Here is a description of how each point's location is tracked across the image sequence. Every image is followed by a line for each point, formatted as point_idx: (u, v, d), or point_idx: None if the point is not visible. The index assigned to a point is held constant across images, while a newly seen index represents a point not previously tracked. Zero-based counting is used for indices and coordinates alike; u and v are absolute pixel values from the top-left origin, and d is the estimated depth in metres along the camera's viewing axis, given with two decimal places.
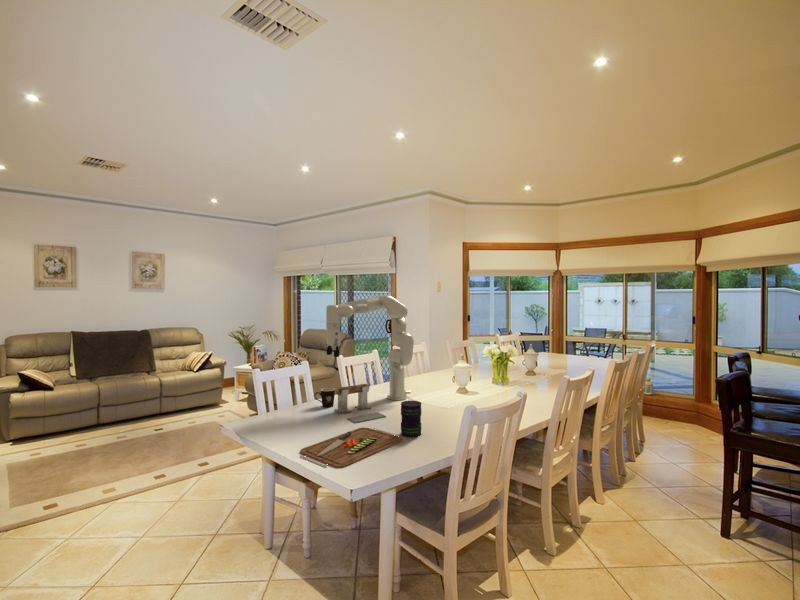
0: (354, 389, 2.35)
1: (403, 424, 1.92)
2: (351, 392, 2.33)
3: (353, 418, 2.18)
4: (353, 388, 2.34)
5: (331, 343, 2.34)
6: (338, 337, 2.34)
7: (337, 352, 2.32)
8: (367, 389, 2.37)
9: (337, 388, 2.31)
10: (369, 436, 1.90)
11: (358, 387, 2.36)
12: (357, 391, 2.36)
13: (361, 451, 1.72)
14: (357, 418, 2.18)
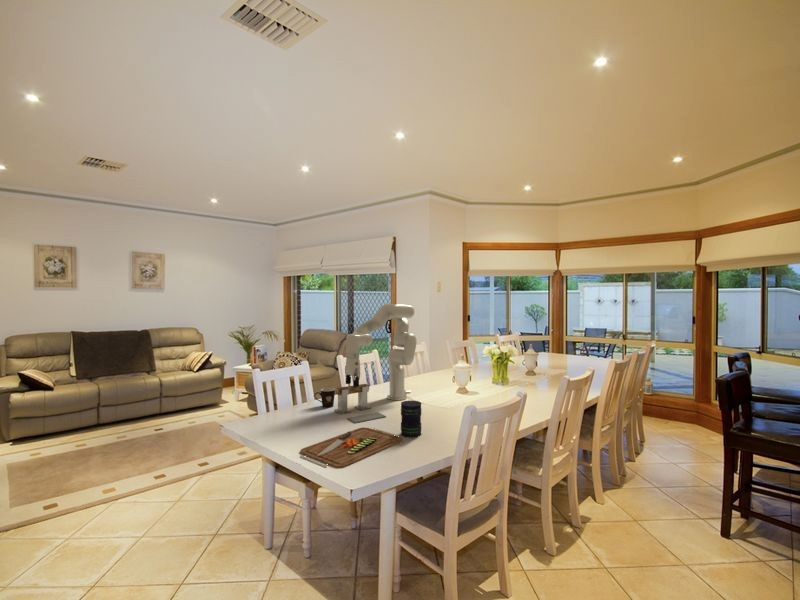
0: (354, 389, 2.35)
1: (403, 424, 1.92)
2: (351, 392, 2.33)
3: (353, 418, 2.18)
4: (353, 388, 2.34)
5: (351, 373, 2.32)
6: (358, 367, 2.32)
7: (357, 382, 2.31)
8: (367, 389, 2.37)
9: (337, 388, 2.31)
10: (369, 436, 1.90)
11: (358, 387, 2.36)
12: (357, 391, 2.36)
13: (361, 451, 1.72)
14: (357, 418, 2.18)
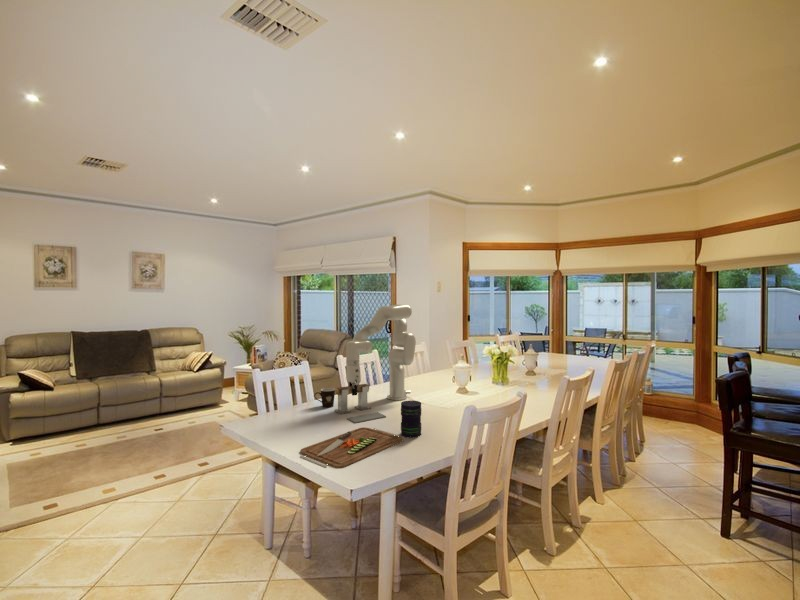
0: None
1: (403, 424, 1.92)
2: (351, 392, 2.33)
3: (353, 418, 2.18)
4: None
5: (351, 380, 2.32)
6: (358, 374, 2.32)
7: (355, 390, 2.33)
8: (367, 389, 2.37)
9: (337, 388, 2.31)
10: (369, 436, 1.90)
11: (358, 387, 2.36)
12: (357, 391, 2.36)
13: (361, 451, 1.72)
14: (357, 418, 2.18)
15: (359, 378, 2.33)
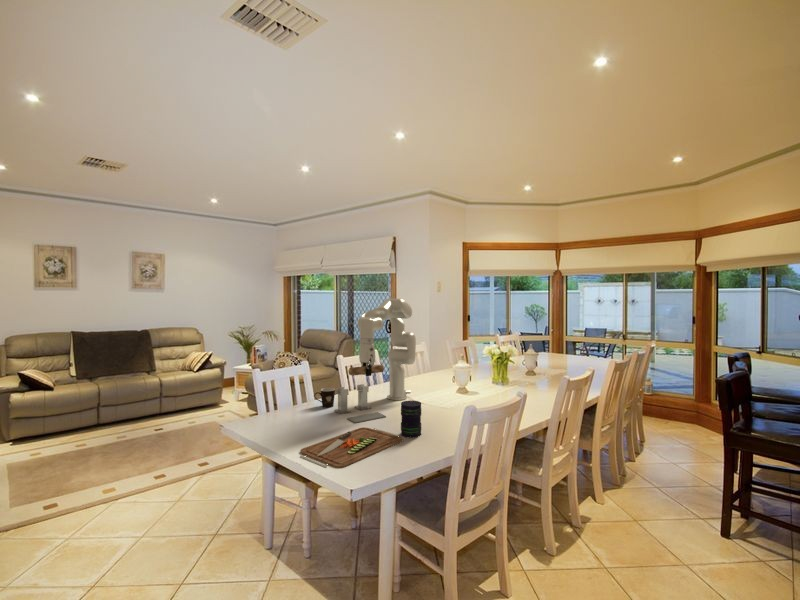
0: None
1: (403, 424, 1.92)
2: (365, 372, 2.18)
3: (353, 418, 2.18)
4: None
5: (365, 359, 2.17)
6: (373, 353, 2.17)
7: (369, 371, 2.18)
8: (367, 389, 2.37)
9: (350, 368, 2.15)
10: (369, 436, 1.90)
11: (372, 367, 2.20)
12: None
13: (361, 451, 1.72)
14: (357, 418, 2.18)
15: (374, 357, 2.17)
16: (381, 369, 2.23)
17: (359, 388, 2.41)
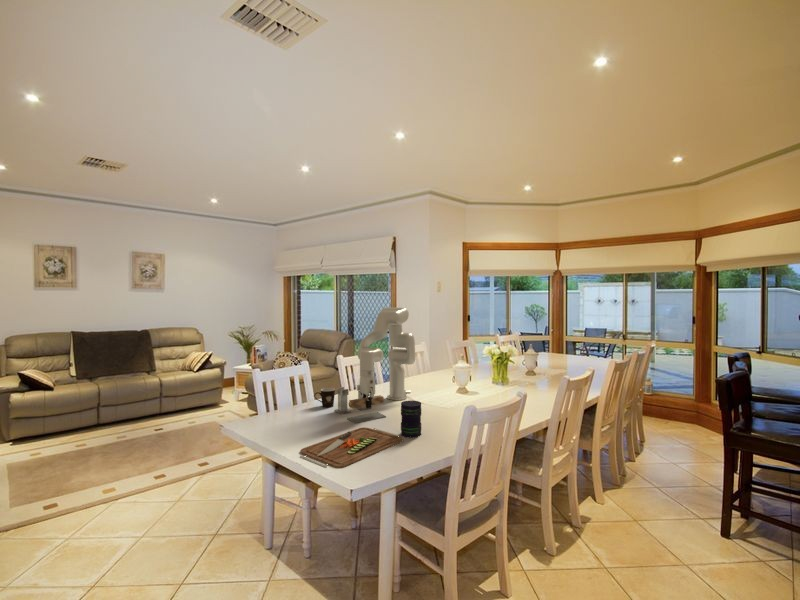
0: None
1: (403, 424, 1.92)
2: (365, 405, 2.18)
3: (353, 418, 2.18)
4: None
5: (365, 392, 2.17)
6: (373, 385, 2.17)
7: (369, 403, 2.18)
8: None
9: (350, 400, 2.16)
10: (369, 436, 1.90)
11: (372, 399, 2.21)
12: None
13: (361, 451, 1.72)
14: (357, 418, 2.18)
15: (374, 390, 2.17)
16: (381, 400, 2.24)
17: None
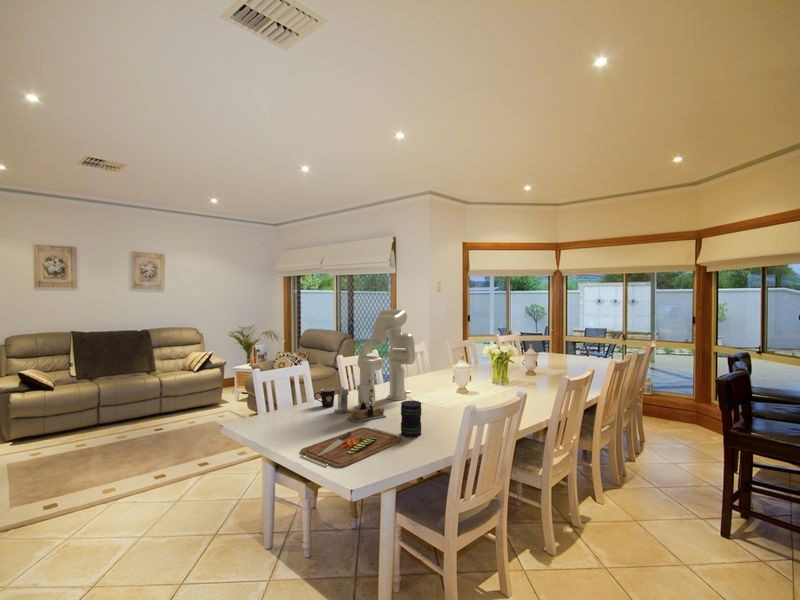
0: None
1: (403, 424, 1.92)
2: (365, 417, 2.18)
3: None
4: (367, 412, 2.19)
5: (365, 400, 2.17)
6: (373, 394, 2.17)
7: (371, 411, 2.17)
8: None
9: (350, 413, 2.16)
10: (369, 436, 1.90)
11: None
12: None
13: (361, 451, 1.72)
14: None
15: (374, 398, 2.17)
16: (381, 412, 2.24)
17: (359, 388, 2.41)
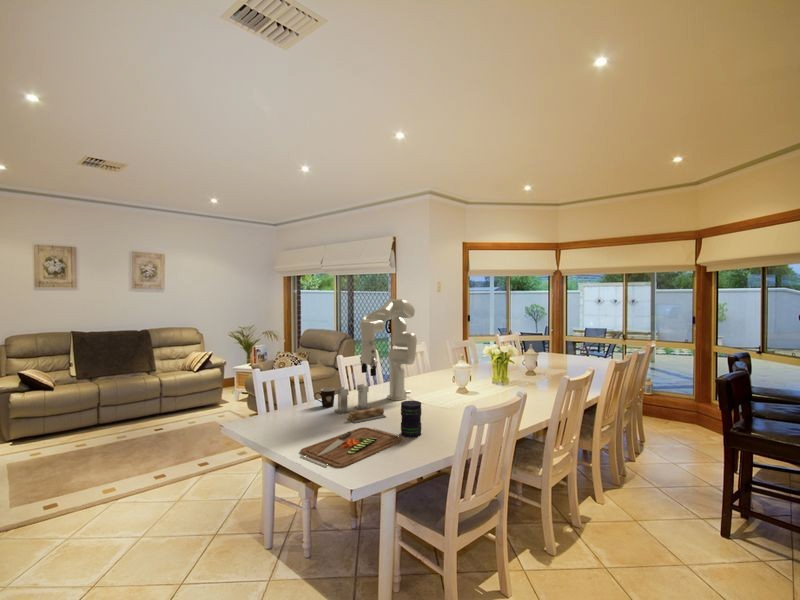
0: (368, 413, 2.19)
1: (403, 424, 1.92)
2: (365, 417, 2.18)
3: None
4: (367, 412, 2.19)
5: (367, 361, 2.23)
6: (374, 355, 2.23)
7: (374, 371, 2.22)
8: (367, 389, 2.37)
9: (350, 413, 2.16)
10: (369, 436, 1.90)
11: (372, 411, 2.21)
12: (371, 415, 2.20)
13: (361, 451, 1.72)
14: None
15: (375, 359, 2.23)
16: (381, 412, 2.24)
17: (359, 388, 2.41)
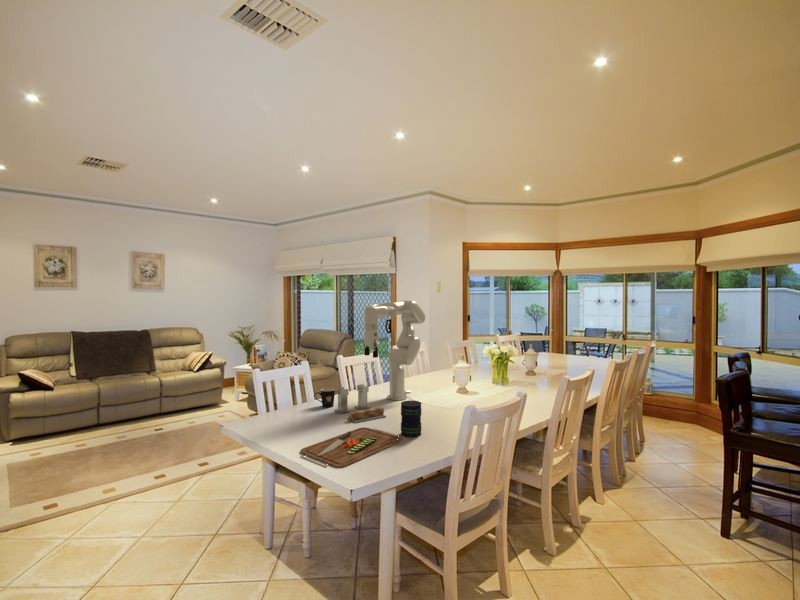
0: (368, 413, 2.19)
1: (403, 424, 1.92)
2: (365, 417, 2.18)
3: None
4: (367, 412, 2.19)
5: (370, 344, 2.37)
6: (377, 338, 2.37)
7: (376, 353, 2.35)
8: (367, 389, 2.37)
9: (350, 413, 2.16)
10: (369, 436, 1.90)
11: (372, 411, 2.21)
12: (371, 415, 2.20)
13: (361, 451, 1.72)
14: None
15: (377, 342, 2.37)
16: (381, 412, 2.24)
17: (359, 388, 2.41)
